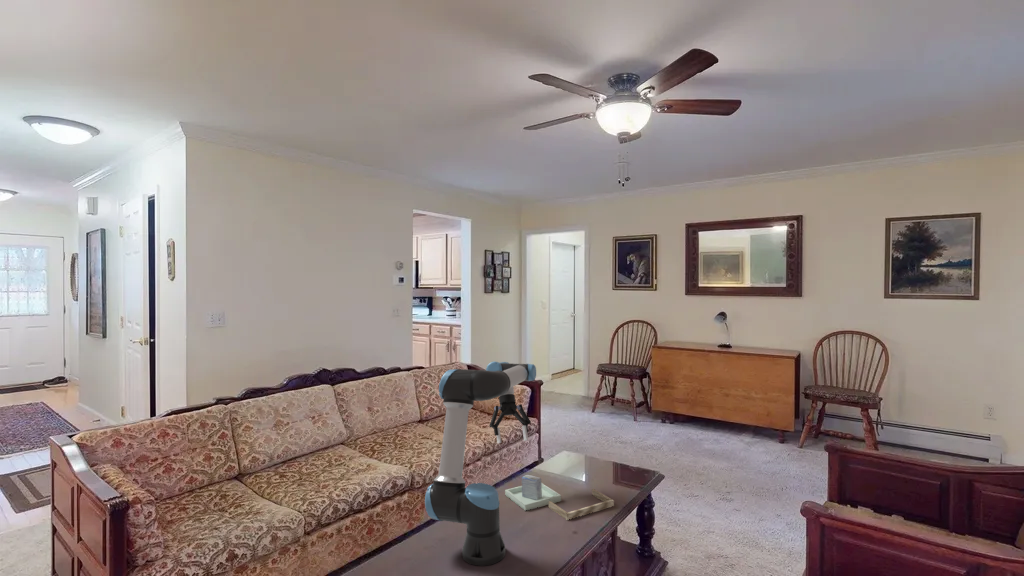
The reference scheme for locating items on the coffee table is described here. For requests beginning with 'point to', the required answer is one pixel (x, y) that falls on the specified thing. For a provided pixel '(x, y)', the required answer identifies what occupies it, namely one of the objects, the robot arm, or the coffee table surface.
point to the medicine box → (531, 487)
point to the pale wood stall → (583, 511)
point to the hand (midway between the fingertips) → (512, 441)
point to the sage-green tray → (528, 503)
